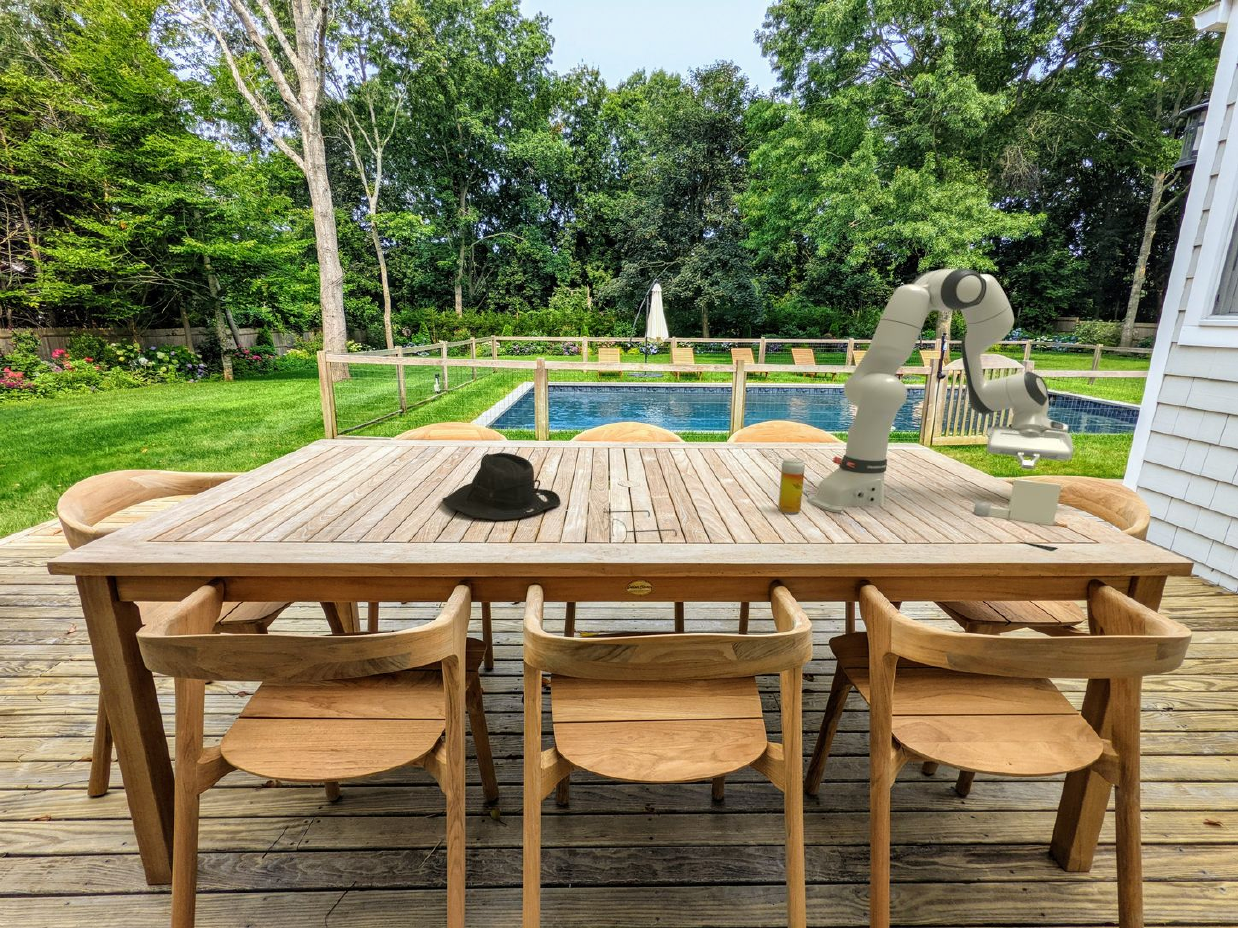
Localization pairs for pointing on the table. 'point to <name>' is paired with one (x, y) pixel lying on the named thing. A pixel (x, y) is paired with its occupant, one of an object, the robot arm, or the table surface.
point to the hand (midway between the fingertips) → (1027, 467)
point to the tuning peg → (1027, 503)
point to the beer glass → (791, 485)
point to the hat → (502, 490)
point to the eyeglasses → (625, 526)
